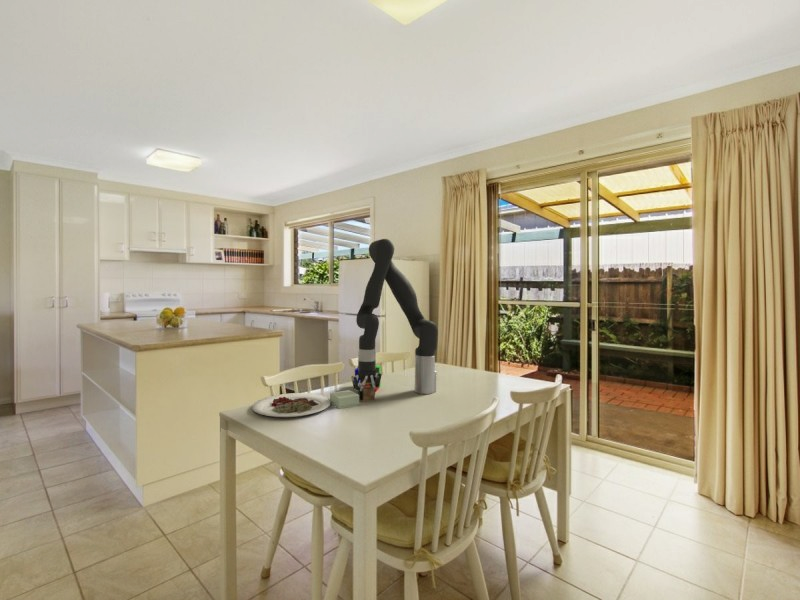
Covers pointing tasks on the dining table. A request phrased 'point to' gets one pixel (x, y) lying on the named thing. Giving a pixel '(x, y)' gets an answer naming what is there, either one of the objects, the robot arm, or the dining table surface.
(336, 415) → the dining table surface
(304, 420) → the dining table surface
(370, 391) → the walnut block
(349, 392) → the pedestal
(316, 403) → the plated food
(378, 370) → the puzzle toy
